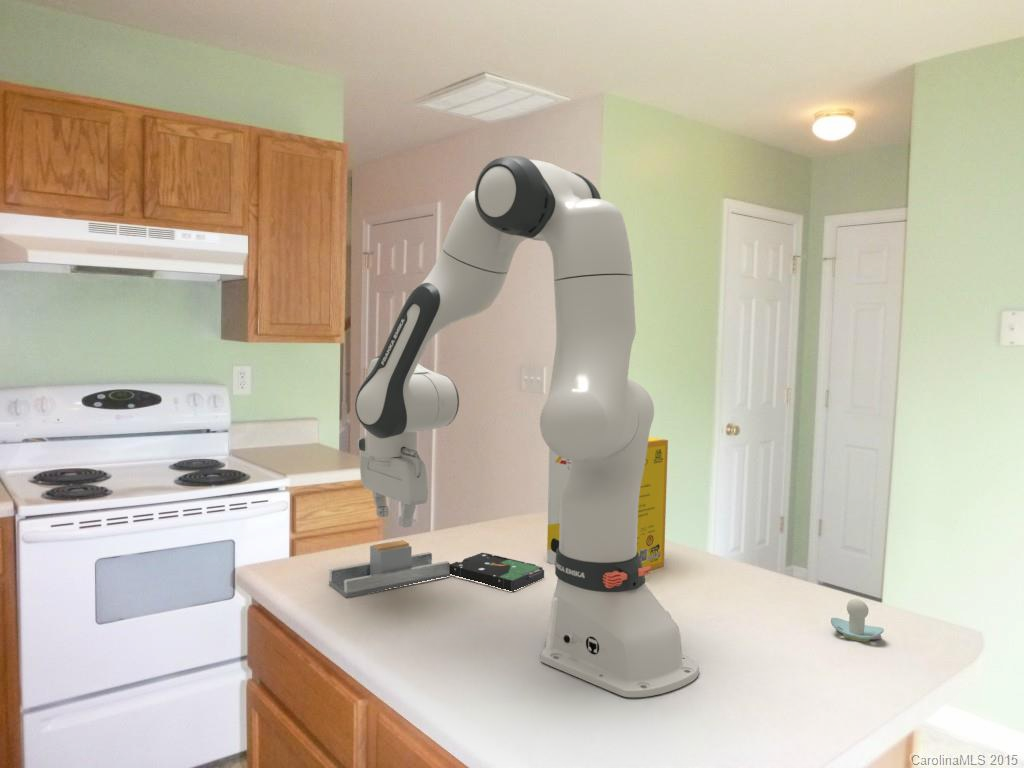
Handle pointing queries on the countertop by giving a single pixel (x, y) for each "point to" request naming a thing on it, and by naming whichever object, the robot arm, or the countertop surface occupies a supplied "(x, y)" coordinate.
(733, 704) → the countertop surface
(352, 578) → the rail
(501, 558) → the disk drive
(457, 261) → the robot arm
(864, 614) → the pacifier
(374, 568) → the module
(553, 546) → the packaging box
